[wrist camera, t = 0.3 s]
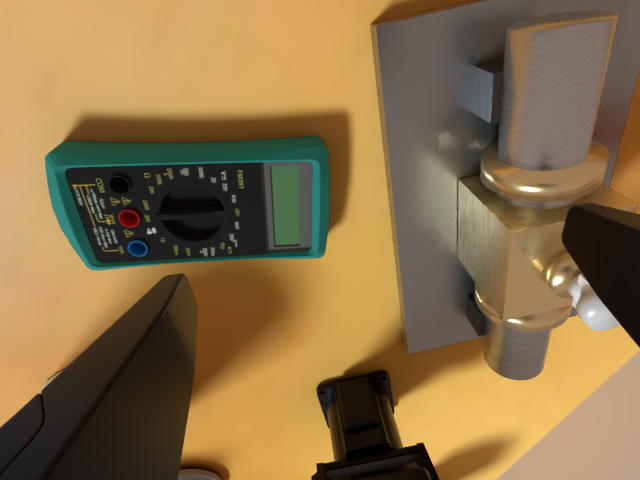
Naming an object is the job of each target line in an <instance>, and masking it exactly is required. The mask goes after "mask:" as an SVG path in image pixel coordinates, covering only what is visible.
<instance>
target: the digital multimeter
mask: <svg viewBox="0 0 640 480" xmlns="http://www.w3.org/2000/svg"><path fill="white" fill-rule="evenodd" d="M254 162H259V163H254ZM216 163H227V164H216ZM45 164H46V173H47V182H48V189H49V193H50V198H51V203H52V207H53V210H54V212H55V215H56V217H57V220H58V222H59V225H60V227H61V229H62V231H63V232H64V234H65V236H66V237H67V239H68V241H69V242H70V244H71V245H72V247H73V248H74V250H75V251H76V253H77V254H78V255H79V257H80V258H81V259H82V261H83V262H84V264H85V265H86V266H87V267H88V268H89V269H91V270H107V269H116V268H126V267H136V266H147V265H159V264H172V263H185V262H199V261H221V260H242V259H303V258H320V257H322V256H323V255H324V253H325V250H326V242H327V235H328V226H329V214H330V176H329V158H328V152H327V149H326V146H325V144H324V141H323V140H322V139H321V138H320V137H318V136H307V137H293V138H278V139H264V140H249V141H225V142H197V143H117V142H83V141H66V142H62V143H61V144H60V145H58V146H57V147H56V148H55V149H53V150H52V151H51V152H49V153H48V154H47V156H46V157H45ZM180 164H191V165H180ZM143 165H155V166H143ZM312 165H313V174H312ZM107 166H118V167H107ZM74 167H82V168H74ZM70 190H71V191H70ZM71 193H72V194H71ZM162 193H163V194H162ZM72 196H73V197H72ZM159 197H160V198H159ZM73 198H74V199H73ZM158 199H159V200H158ZM74 201H75V202H74ZM75 204H76V205H75ZM76 207H77V208H76ZM77 209H78V210H77ZM78 212H79V213H78ZM79 215H80V216H79ZM80 217H81V218H80ZM215 238H216V239H215ZM191 243H192V244H191Z"/></svg>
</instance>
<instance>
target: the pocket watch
mask: <svg viewBox="0 0 640 480" xmlns="http://www.w3.org/2000/svg"><path fill="white" fill-rule="evenodd" d="M178 480H221V478H220V477H219V476H217V475H216V474H215V473H212V472H210V471H207V470H202V469H183V470H179V474H178Z"/></svg>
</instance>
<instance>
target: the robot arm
mask: <svg viewBox="0 0 640 480" xmlns="http://www.w3.org/2000/svg"><path fill="white" fill-rule="evenodd" d="M561 239H562V243H563V245H564V247H565V249H566V250H567V252H568V253H569V255H570V256H571V258H572V259H573V261H574V262H575V264H576V265H577V267H578V268H579V270H580V271H581V273H582V274H583V276H584V277H585V279H586V280H587V282H588V283H589V285H590V286H591V288H592V289H593V291H594V292H595V293H596V295H597V296H598V298H599V299H600V300H601V301H602V303H603V304H604V305H605V306H606V308H607V309H608V310H609V311H610V312H611V314H612V315H613V316H614V317H615V319H616V320H617V321H618V322H619V323H620V325H621V326H622V327H623V328H624V329H625V331H626V332H627V333H628V334H629V336H630V337H631V338H632V339H633V340H634V342H635V343H636V344H637V345H638V346H639V348H640V214H636V213H632V212H628V211H624V210H620V209H616V208H611V207H607V206H603V205H599V204H595V203H583V204H578V205H573V206H572V207H570V208H569V210H568V212H567V216H566V220H565V223H564V227H563V231H562V235H561ZM196 334H197V303H196V299H195V297H194V294H193V292H192V290H191V287H190V285H189V282H188V280H187V278H186V276H185V275H184V274H175V275H169V276H165V277H164V278H163V279H161V280H160V281H159V282H158V283H157V284H156V285H155V286H154V287H153V288H152V289H151V290H150V291H148V292H147V293H146V294H145V295H144V296H143V297H142V298H141V299H140V300H139V301H138V302H137V303H135V304H134V305H133V306H132V307H131V308H130V309H129V310H128V311H127V312H126V313H125V314H124V315H122V316H121V317H120V318H119V319H118V320H117V321H116V322H115V323H114V324H113V325H112V326H111V327H109V328H108V329H107V330H106V331H105V332H104V333H103V334H102V335H101V336H100V337H99V338H98V339H96V340H95V341H94V342H93V343H92V344H91V345H90V346H89V347H88V348H87V349H86V350H85V351H83V352H82V353H81V354H80V355H79V356H78V357H77V358H76V359H75V360H74V361H73V362H72V363H70V364H69V365H68V366H67V367H66V368H65V369H64V370H63V371H62V372H61V373H60V374H59V375H57V376H56V377H55V378H54V379H53V380H52V381H51V382H50V383H49V384H48V385H47V386H46V387H44V388H43V389H42V390H41V394H37V395H36V396H35V397H33V398H32V399H31V400H30V401H29V402H28V403H27V404H26V405H25V406H24V407H23V408H22V409H21V410H19V411H18V412H17V413H16V414H15V415H14V416H13V417H12V418H10V419H9V420H8V421H7V422H6V423H5V424H4V425H3V426H2V427H0V480H178V474H179V468H180V461H181V455H182V449H183V443H184V436H185V430H186V424H187V418H188V412H189V405H190V399H191V393H192V387H193V380H194V373H195V361H196ZM316 391H317V396H318V399H319V402H320V405H321V408H322V411H323V414H324V416H325V419H326V422H327V425H328V428H329V429H330V434H331V440H332V447H333V453H334V460H335V461H334V462H329V463H323V462H322V463H317V472H316V474H314V475H313V476H312V477H311V478H312V480H439V477H438V475H437V473H436V471H435V468H434V466H433V464H432V462H431V459H430V457H429V455H428V453H427V450H426V448H425V446H424V443H423V442H422V443H417V444H416V445H414V446H409V447H404V448H403V445H402V442H401V439H400V435H399V432H398V429H397V425H396V422H395V419H394V416H393V414H394V406H393V399H392V392H391V386H390V379H389V375H388V372H386V371H380V372H376V373H372V374H367V375H363V376H359V377H354V378H350V379H346V380H341V381H337V382H333V383H328V384H324V385H320V386H318V387H317V388H316Z"/></svg>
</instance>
